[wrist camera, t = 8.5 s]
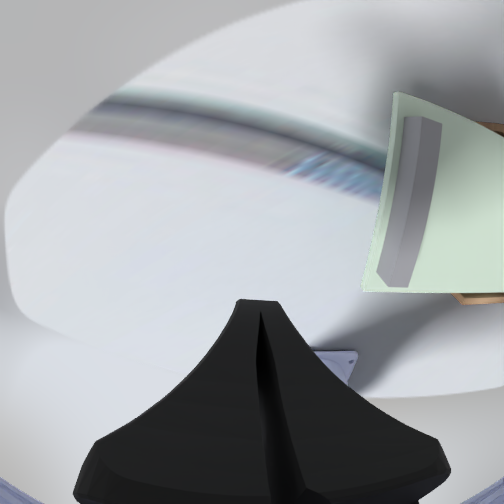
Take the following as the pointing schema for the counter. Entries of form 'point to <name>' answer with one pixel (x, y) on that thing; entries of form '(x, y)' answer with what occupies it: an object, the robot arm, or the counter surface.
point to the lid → (438, 205)
